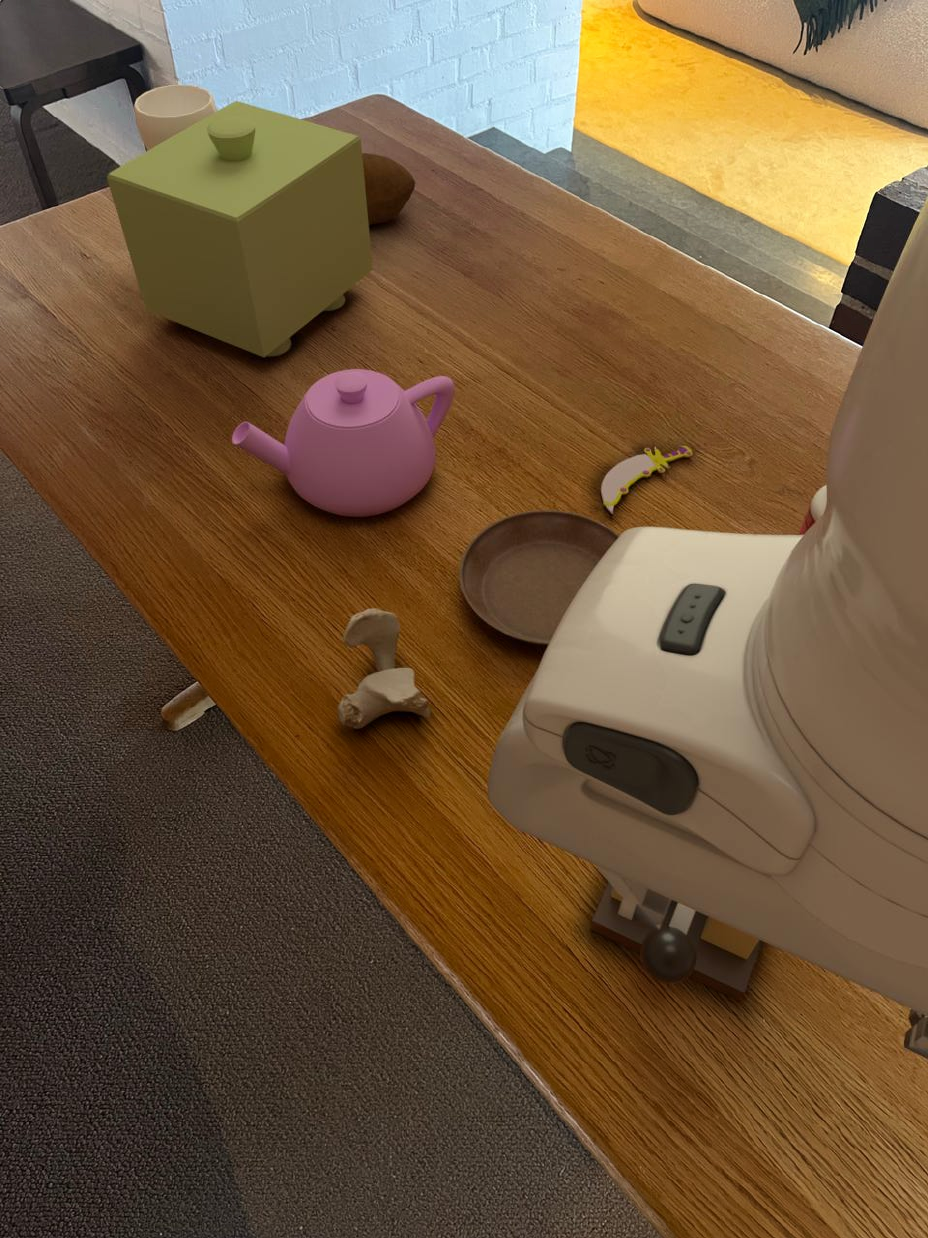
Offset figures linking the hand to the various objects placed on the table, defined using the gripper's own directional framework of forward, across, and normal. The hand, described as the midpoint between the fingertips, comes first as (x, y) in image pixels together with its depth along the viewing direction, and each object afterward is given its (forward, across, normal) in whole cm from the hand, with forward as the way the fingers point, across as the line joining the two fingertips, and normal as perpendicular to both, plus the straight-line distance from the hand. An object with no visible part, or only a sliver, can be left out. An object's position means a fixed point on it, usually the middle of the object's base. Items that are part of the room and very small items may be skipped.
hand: (781, 968), depth 31 cm
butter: (+28, +3, -14) cm, 31 cm away
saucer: (+29, +22, -35) cm, 51 cm away
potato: (+29, +67, -81) cm, 109 cm away
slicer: (+29, +3, -20) cm, 35 cm away
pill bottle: (+29, +2, -47) cm, 55 cm away
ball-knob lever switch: (+24, +3, -15) cm, 28 cm away
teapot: (+29, +44, -40) cm, 66 cm away
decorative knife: (+29, +20, -52) cm, 63 cm away
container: (+29, +67, -59) cm, 94 cm away
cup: (+29, +82, -68) cm, 110 cm away
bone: (+29, +28, -19) cm, 45 cm away
